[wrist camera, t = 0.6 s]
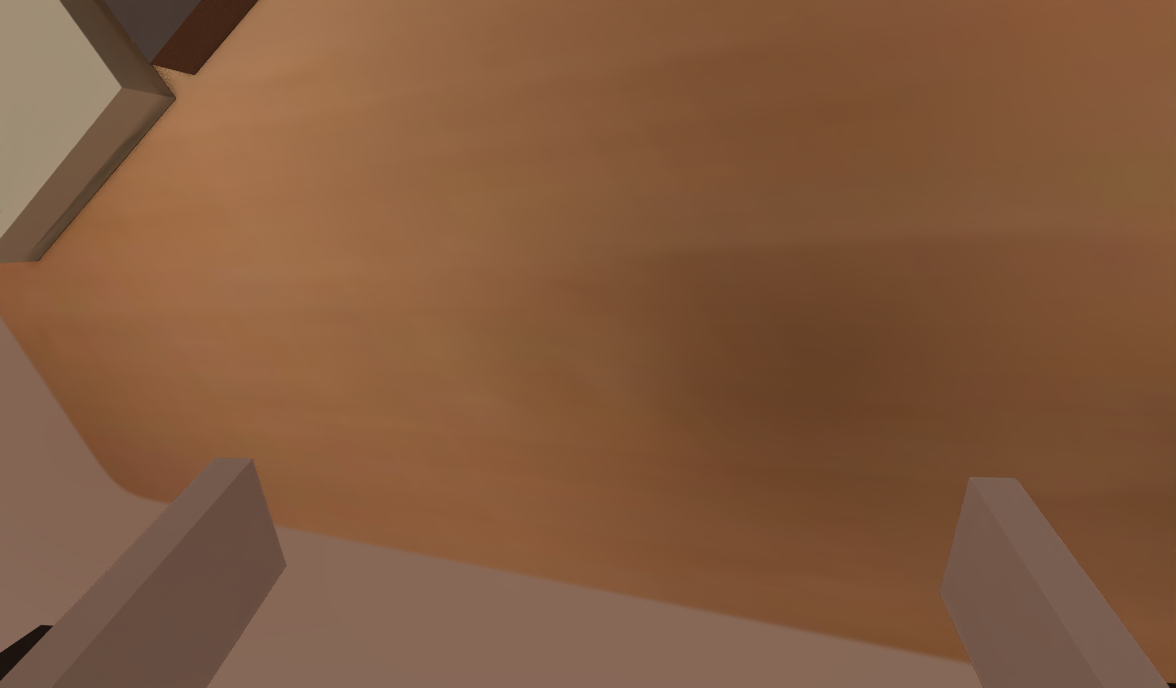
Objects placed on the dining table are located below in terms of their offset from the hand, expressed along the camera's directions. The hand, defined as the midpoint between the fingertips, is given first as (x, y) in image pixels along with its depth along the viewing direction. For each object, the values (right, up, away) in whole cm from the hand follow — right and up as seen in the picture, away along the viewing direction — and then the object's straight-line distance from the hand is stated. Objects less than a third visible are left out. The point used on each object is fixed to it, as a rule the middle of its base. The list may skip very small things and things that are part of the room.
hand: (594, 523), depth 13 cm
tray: (-35, +20, +30) cm, 51 cm away
